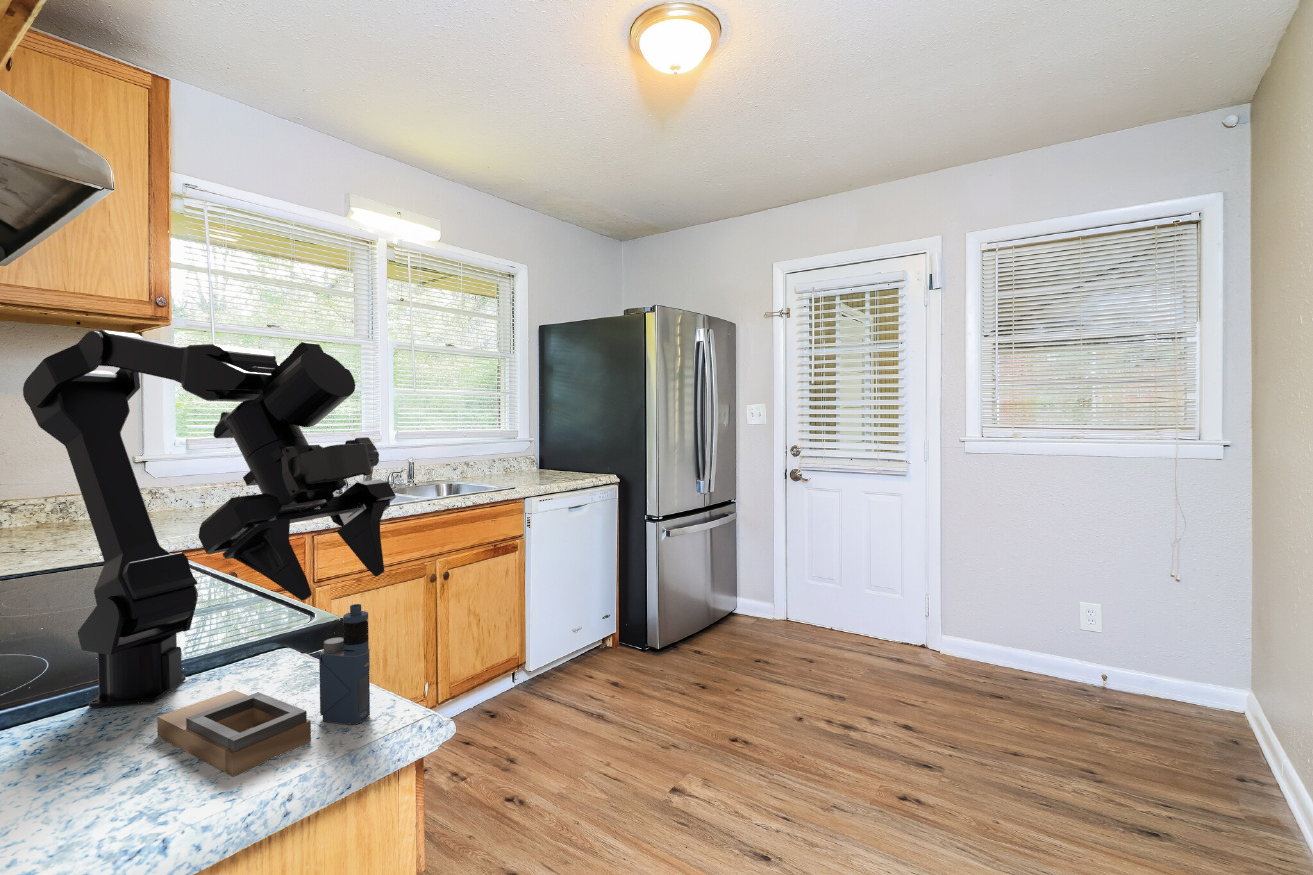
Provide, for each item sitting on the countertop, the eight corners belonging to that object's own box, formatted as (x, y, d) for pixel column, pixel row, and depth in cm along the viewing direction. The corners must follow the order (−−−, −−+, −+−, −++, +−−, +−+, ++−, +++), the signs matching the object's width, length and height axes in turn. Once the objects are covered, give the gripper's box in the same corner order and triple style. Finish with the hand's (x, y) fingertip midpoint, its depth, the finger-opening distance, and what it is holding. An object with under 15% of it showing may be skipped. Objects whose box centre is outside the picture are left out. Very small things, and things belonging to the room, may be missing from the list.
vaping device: (359, 726, 63) (358, 609, 63) (314, 721, 64) (312, 606, 64) (375, 715, 66) (374, 602, 66) (332, 710, 67) (330, 599, 67)
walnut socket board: (157, 736, 62) (156, 706, 61) (234, 707, 68) (233, 680, 68) (232, 776, 55) (232, 742, 54) (311, 740, 61) (310, 710, 61)
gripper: (240, 406, 53) (322, 567, 51) (395, 410, 71) (461, 528, 68) (163, 476, 56) (237, 630, 54) (331, 462, 74) (392, 577, 71)
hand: (346, 585), depth 62 cm, fingers open, 9 cm apart
